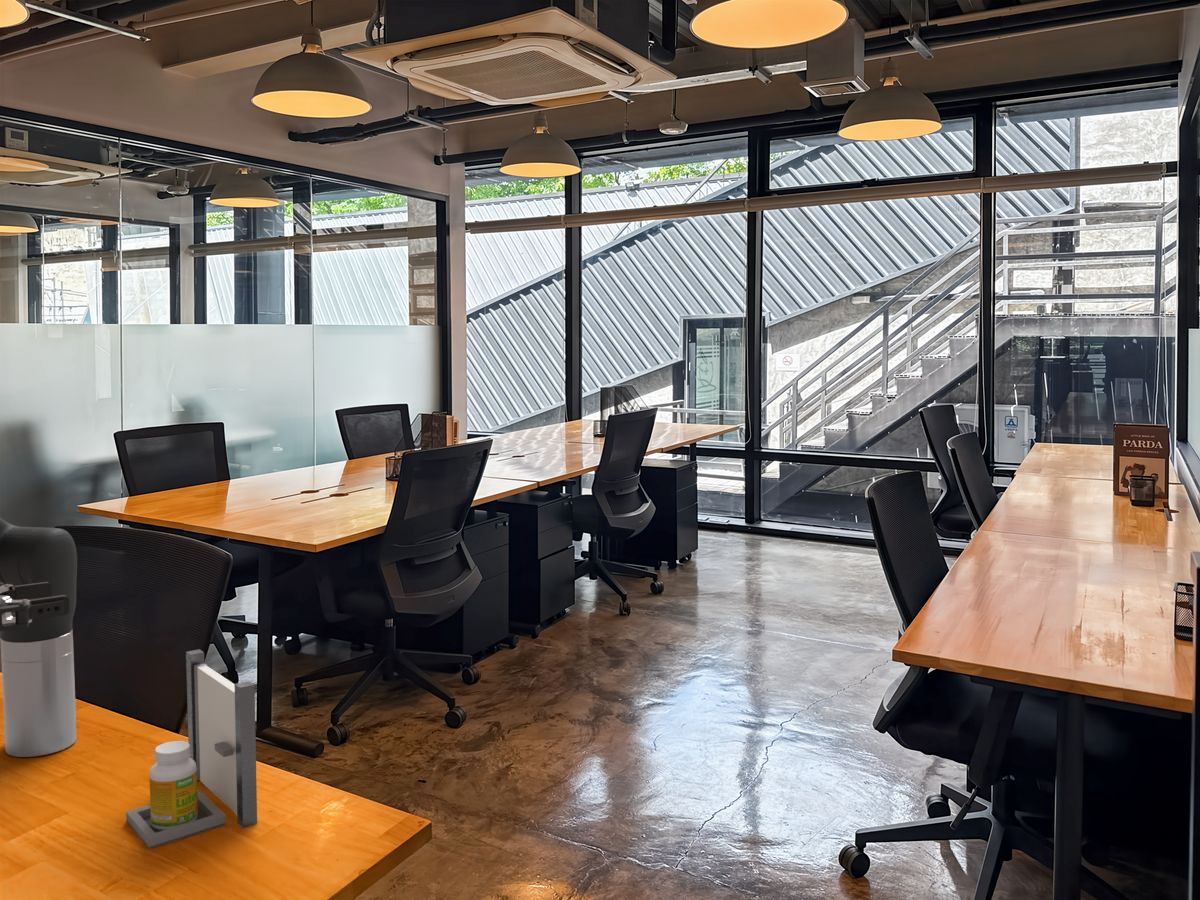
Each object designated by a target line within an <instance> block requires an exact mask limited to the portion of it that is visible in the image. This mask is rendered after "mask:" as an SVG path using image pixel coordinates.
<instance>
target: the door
mask: <svg viewBox="0 0 1200 900" xmlns="http://www.w3.org/2000/svg"><path fill="white" fill-rule="evenodd" d="M194 680H195V719H196V759H197V780H198V781H200V782H201V783H202V784H203V785H204V786H205V787H206V788H208V789H209V790H210V791H211V792H212V793H213V795H215V796H216V797H217V798H218V799H220V801H221V802H222V803H224V805H226V806H227V807H228V808H229V809H230V810H231V811H232V812H233V813H234V814H235V815H237V779H236V733H235V687H234V684H235V683H233V682H232V681H231V680H229V679H227V678H226V677H224V676H223V675H221V674H220V673H218V672H217V671H216V670H214V669H212V668H210V667H209V666H208V664H206V663H204V664H197V665H194Z"/></svg>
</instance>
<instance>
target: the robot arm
mask: <svg viewBox="0 0 1200 900" xmlns="http://www.w3.org/2000/svg"><path fill="white" fill-rule="evenodd" d="M75 543H76V542H75V540H74V538H73V536H72V535H71V534H70V533H69V531H67V530H65V529H64V528H58V527H57V528H56V527H42V526H41V527H40V526H39V527H35V526H34V527H33V526H18V525H14V524H11V523H9V522H7V521H6V520H4V519H3V518H1V517H0V657H1V660H0V661H1V677H2V679H1V680H2V703H3V722H4V724H3V725H4V726H3V727H4V749H5V753H6V754H7V755H9V756H12V757H17V758H21V757H22V758H28V757H29V758H30V757H39V756H44V755H49V754H54V753H57V752H60V751H62V750H65V749H66V748H69V747H71V746H72V745H73V744H74V743H76V741H77V720H76V719H77V718H76V713H77V712H76V689H75V687H76V686H75V681H76V680H75V661H74V659H75V657H74V656H75V655H74V654H75V653H74V635H73V633H74V632H73V619H74V615H75V611H76V607H77V580H78V579H77V577H78V576H77V574H78V553H77V547H76V544H75Z"/></svg>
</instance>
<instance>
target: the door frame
mask: <svg viewBox="0 0 1200 900" xmlns="http://www.w3.org/2000/svg"><path fill="white" fill-rule="evenodd" d="M185 660H186V661H185V662H186V663H185V667H186V700H187V701H186V702H187V705H186V706H187V734H188V735H187V736H188V737H187V739H188V740H187V742H188V743H189V744H190V757H189V758H191V759H193V760H194V761H195V763H196V766H197V759H196V719H195V680H194V665H197V664H205V652H204V651H203V650H201V649H195V650H189V651H185ZM233 684H234V687H235V733H236V779H237V814H236V817H237V818H236V819H237V824H238V825H239V826H240V827H241V828H242V829H245V828H248V827H250V826H254V825H258V798H257V797H258V796H257V791H258V790H257V748H256V746H257V745H256V743H257V742H256V741H257V740H256V739H257V738H256V737H257V736H256V695H255V692H256V691H255V689H256V688H255V684H254V683H253V682H251V681H249V680H247V681H246V680H245V681H242V682H237V683H233ZM198 781H199V780H197V782H198Z"/></svg>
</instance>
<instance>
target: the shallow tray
mask: <svg viewBox="0 0 1200 900" xmlns="http://www.w3.org/2000/svg"><path fill="white" fill-rule="evenodd" d="M197 798H198V816H197V819H196V820H195V821H192V822H189V823H186V824H183V825H179V826H176V827H173V828H170V829H166V830H163V831H162V830H157V829H155V828H153V827H152V825H151V808H150V804H149V805H144V806H142V807H138V808H133V809H132V810H128V811H125V818H126V819H125V820H126V823H127V825H129V827H130V828H131V829H132V830H133V832H134V833H135V834H136V835H137V837H138V838H139V839H140V840H141V842H143V844H144V845H145V846H146V847H147V849H148V850H152V849H155V848H158V847H161V846H165V845H167V844H171V843H174V842H177V841H180V840H183V839H186V838H189V837H192V836H196V835H198V834H202V833H205V832H209V831H211V830H214V829H217V828H221V827H224V826H226V814H225V813H224V812H223V811H222V810H221V809H220V808H218V807H217V806H216V804H214V803H213V802H212V801H211V799H209V798H208V797H207V795H205V794H204V793H203V792H202V791H201V790H197Z"/></svg>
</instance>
